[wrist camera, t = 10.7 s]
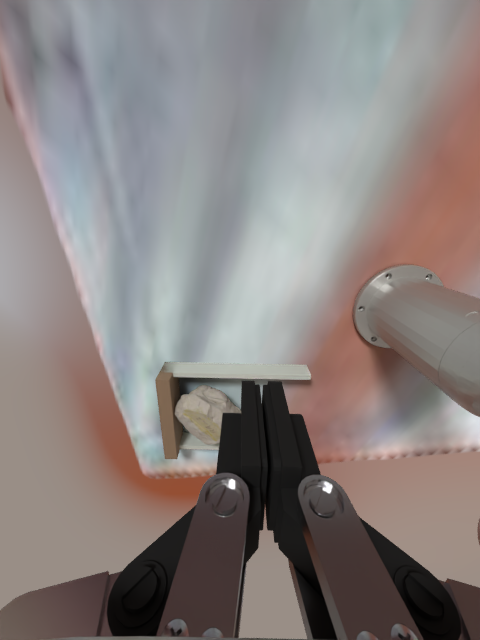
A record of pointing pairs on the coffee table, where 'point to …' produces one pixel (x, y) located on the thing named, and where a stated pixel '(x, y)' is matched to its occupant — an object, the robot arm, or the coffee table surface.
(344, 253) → the coffee table surface
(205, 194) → the coffee table surface
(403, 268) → the robot arm
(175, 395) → the channel
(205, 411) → the fossil replica
